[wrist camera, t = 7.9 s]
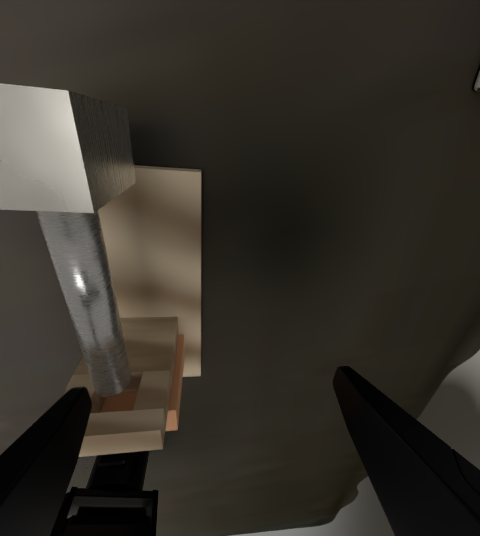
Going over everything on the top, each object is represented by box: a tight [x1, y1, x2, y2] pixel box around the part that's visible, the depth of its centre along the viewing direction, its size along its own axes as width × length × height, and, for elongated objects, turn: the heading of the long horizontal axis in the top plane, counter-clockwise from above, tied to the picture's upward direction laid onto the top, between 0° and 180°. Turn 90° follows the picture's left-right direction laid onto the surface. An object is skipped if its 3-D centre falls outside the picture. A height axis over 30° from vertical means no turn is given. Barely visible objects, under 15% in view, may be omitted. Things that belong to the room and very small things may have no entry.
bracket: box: [61, 165, 201, 457], centre depth 16 cm, size 20×10×10 cm, turn 175°
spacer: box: [100, 335, 185, 431], centre depth 19 cm, size 2×7×7 cm, turn 85°
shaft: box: [0, 84, 136, 397], centre depth 11 cm, size 14×4×5 cm, turn 175°
